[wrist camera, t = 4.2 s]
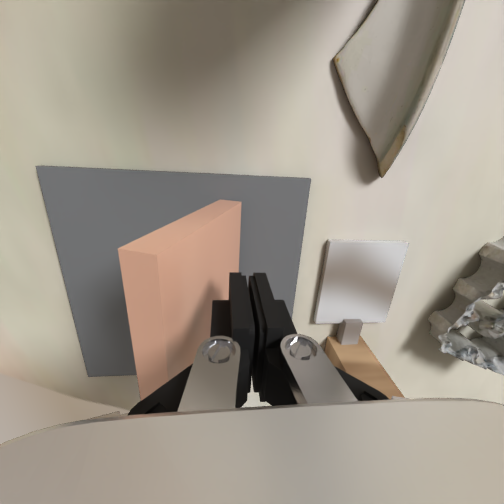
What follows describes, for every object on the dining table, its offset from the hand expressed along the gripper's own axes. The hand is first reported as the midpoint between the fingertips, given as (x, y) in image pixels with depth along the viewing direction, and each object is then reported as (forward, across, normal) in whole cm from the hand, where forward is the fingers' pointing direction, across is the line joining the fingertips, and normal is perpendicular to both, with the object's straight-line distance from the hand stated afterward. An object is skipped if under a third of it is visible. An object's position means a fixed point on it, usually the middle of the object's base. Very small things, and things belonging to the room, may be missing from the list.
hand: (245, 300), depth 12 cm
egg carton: (+7, -21, +4) cm, 23 cm away
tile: (+6, +1, 0) cm, 6 cm away
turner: (+7, -9, +5) cm, 13 cm away
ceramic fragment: (+7, -9, -12) cm, 17 cm away
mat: (+7, +4, +3) cm, 8 cm away
